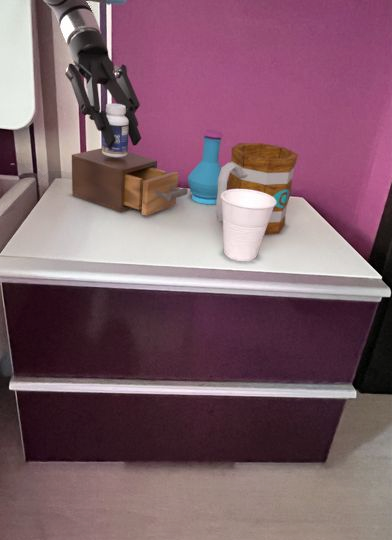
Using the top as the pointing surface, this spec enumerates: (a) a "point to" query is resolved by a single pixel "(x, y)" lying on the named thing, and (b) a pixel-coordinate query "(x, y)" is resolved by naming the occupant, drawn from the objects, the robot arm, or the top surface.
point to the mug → (260, 177)
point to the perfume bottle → (207, 170)
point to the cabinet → (104, 177)
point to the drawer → (151, 190)
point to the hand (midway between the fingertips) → (124, 142)
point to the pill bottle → (117, 131)
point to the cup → (245, 222)
